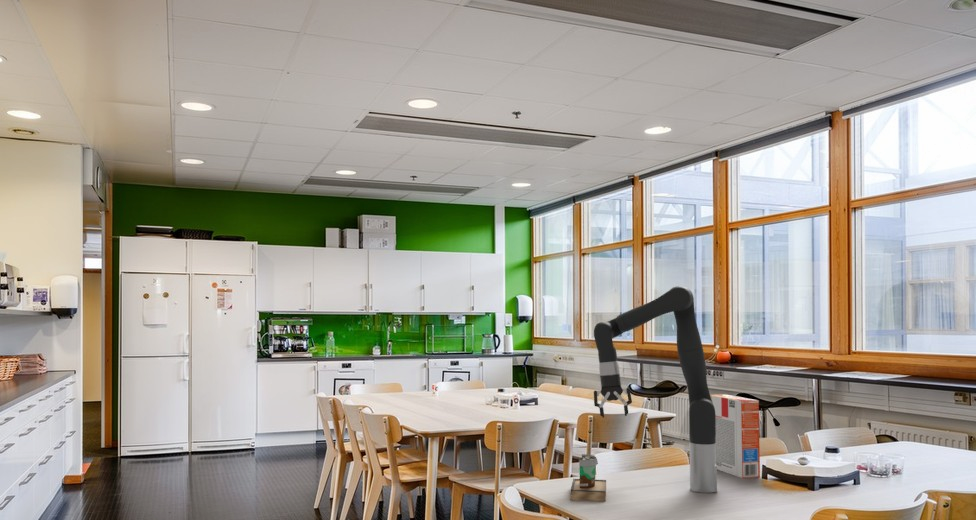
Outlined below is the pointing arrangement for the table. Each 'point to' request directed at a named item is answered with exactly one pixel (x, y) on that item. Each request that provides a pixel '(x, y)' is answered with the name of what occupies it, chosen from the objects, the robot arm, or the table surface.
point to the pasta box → (737, 435)
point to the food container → (587, 471)
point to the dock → (589, 491)
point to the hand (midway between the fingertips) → (614, 416)
